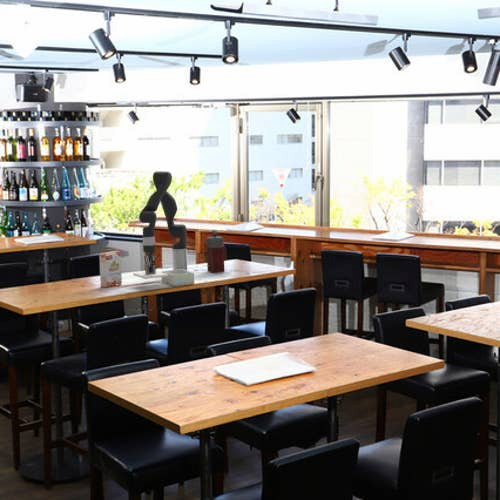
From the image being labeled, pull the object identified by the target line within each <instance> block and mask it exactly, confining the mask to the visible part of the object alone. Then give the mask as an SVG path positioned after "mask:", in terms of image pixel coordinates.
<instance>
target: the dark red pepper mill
mask: <svg viewBox="0 0 500 500" xmlns="http://www.w3.org/2000/svg"><path fill="white" fill-rule="evenodd" d="M227 259H228V258H227V247H226V246H225V244H224V237H223V236H218V230H217V229H213V230H211V236H207V237H206V263H207V264H206V266H207V272H208V273H212V274H216V273H217V274H219V273H225V261H227ZM218 272H219V273H218Z"/></svg>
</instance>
